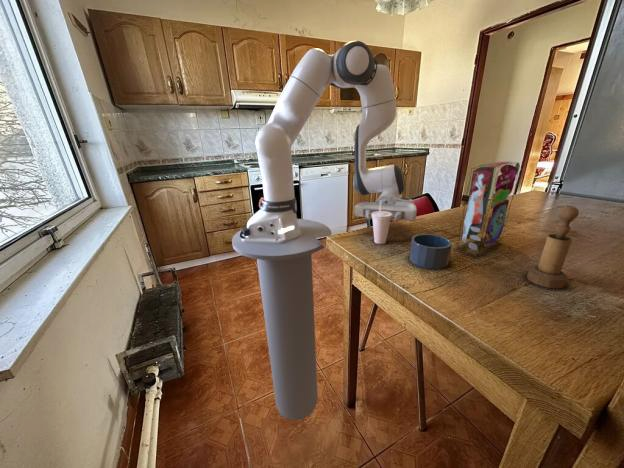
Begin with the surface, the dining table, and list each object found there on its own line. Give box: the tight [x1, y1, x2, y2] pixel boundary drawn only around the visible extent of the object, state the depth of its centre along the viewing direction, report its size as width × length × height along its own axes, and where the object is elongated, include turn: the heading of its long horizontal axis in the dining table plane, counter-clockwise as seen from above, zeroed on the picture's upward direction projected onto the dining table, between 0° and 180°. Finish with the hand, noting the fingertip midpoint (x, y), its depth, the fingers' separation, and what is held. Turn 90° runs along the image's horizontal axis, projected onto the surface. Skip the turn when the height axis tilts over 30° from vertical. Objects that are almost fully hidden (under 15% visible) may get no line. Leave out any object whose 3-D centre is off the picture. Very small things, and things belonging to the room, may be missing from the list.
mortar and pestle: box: [526, 205, 580, 290], centre depth 56 cm, size 7×6×18 cm
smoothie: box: [371, 200, 392, 245], centre depth 82 cm, size 6×6×14 cm
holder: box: [409, 233, 453, 270], centre depth 70 cm, size 10×10×6 cm
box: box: [456, 161, 521, 258], centre depth 76 cm, size 25×6×24 cm, turn 125°
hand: (381, 218), depth 80 cm, fingers closed on smoothie, 6 cm apart
